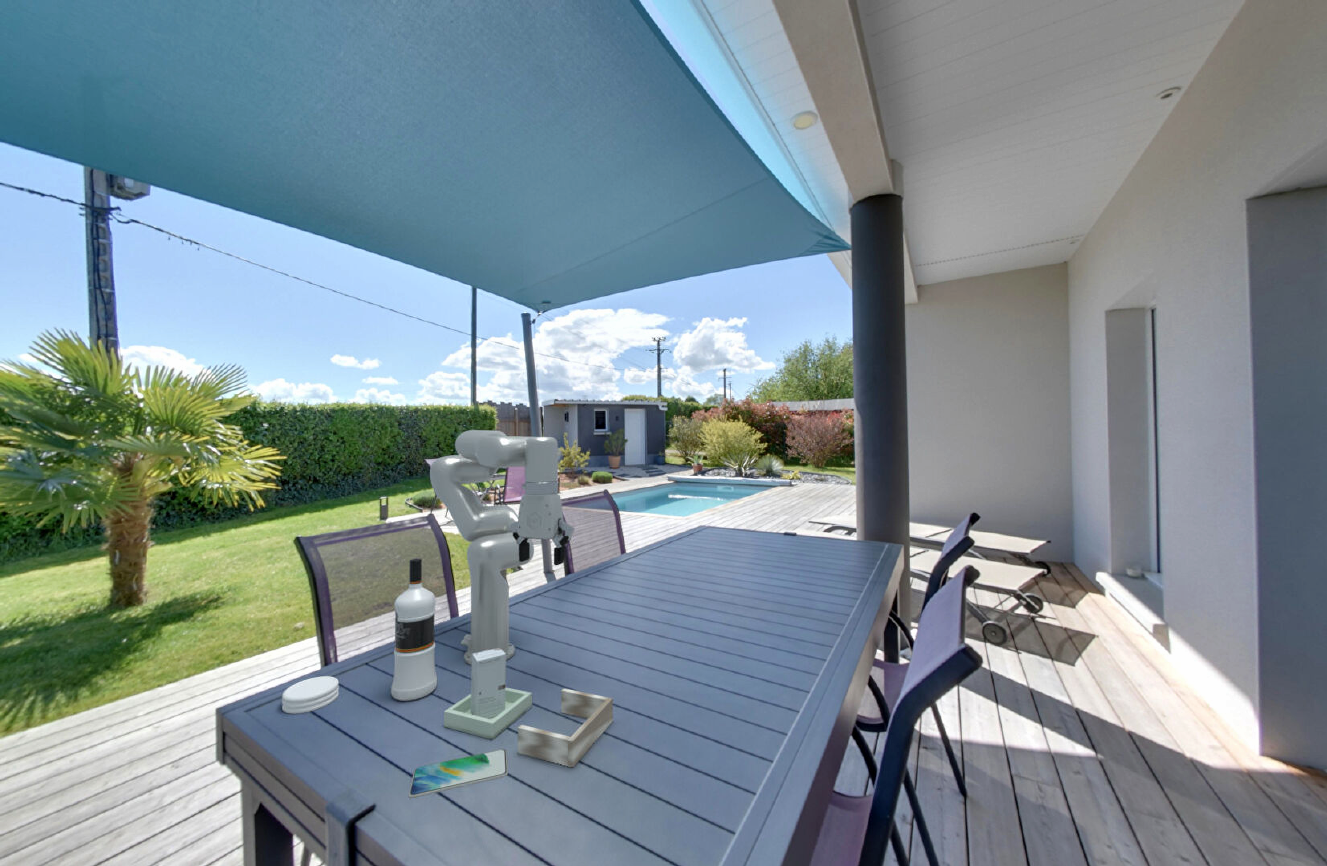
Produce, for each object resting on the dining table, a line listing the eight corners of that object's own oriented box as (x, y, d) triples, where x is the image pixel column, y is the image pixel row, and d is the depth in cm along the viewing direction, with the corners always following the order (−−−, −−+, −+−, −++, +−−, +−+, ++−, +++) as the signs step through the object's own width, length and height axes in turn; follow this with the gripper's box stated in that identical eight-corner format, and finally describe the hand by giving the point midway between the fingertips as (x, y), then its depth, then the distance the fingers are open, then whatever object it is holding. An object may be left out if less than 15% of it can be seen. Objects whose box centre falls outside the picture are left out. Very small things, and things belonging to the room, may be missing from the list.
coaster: (349, 694, 108) (349, 679, 108) (303, 719, 99) (303, 701, 99) (317, 687, 111) (318, 672, 111) (270, 710, 102) (270, 693, 102)
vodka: (437, 697, 106) (437, 561, 107) (389, 706, 103) (390, 565, 103) (437, 678, 115) (438, 552, 116) (393, 687, 111) (394, 556, 112)
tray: (444, 726, 95) (444, 711, 95) (486, 697, 106) (486, 683, 106) (492, 739, 91) (492, 723, 91) (531, 707, 102) (531, 693, 102)
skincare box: (475, 723, 95) (475, 661, 95) (469, 713, 99) (470, 653, 99) (506, 713, 99) (506, 653, 99) (500, 703, 102) (500, 646, 103)
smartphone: (507, 773, 81) (408, 796, 76) (507, 779, 81) (408, 802, 76) (506, 747, 88) (414, 767, 82) (506, 752, 88) (414, 772, 82)
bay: (517, 752, 87) (517, 727, 87) (563, 710, 101) (563, 688, 101) (572, 768, 83) (572, 741, 83) (612, 721, 97) (612, 698, 97)
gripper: (500, 489, 113) (500, 562, 112) (564, 491, 106) (564, 569, 106) (521, 486, 120) (521, 555, 119) (581, 488, 113) (581, 561, 113)
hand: (541, 562), depth 112 cm, fingers open, 9 cm apart
